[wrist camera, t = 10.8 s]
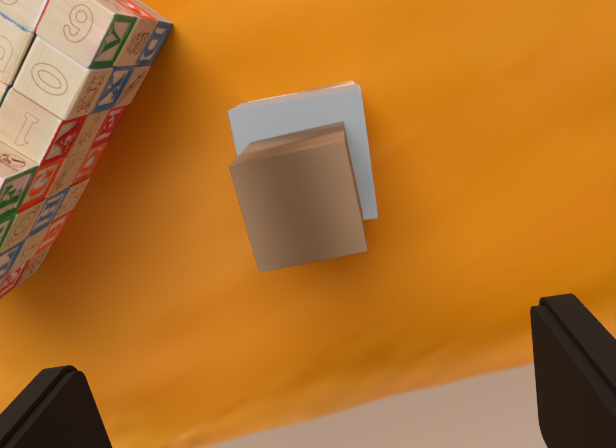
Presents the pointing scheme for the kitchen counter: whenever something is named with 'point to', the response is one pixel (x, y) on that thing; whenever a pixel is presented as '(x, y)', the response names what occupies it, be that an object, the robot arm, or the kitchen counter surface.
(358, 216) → the walnut block
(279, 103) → the tower top
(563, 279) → the kitchen counter surface
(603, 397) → the robot arm
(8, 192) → the stack of blocks
